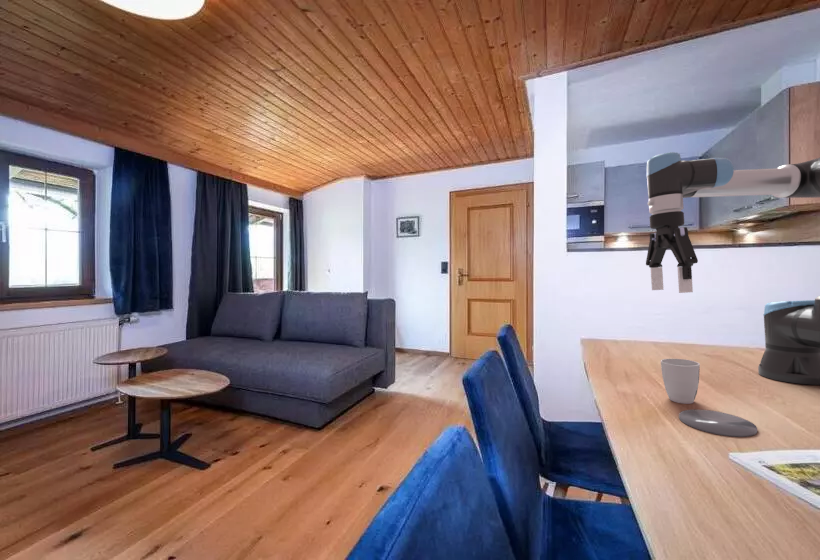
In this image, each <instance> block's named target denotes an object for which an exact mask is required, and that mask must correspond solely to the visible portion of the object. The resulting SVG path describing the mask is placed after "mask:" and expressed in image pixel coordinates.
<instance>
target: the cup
mask: <svg viewBox="0 0 820 560" xmlns="http://www.w3.org/2000/svg"><path fill="white" fill-rule="evenodd" d="M700 366H701V363H700V362H698V361H694V360H690V359H686V358H685V359H684V358H663V359H660V367H661V377H662V380H663V385H664V390H665V391H666V394H667V396H668V399H669V400H670V401H672V402H675V403H677V404H685V405H686V404H687V405H688V404H689V405H690V404H693V403H694V402H695V400H696V397H697V394H698V388H699V383H700Z"/></svg>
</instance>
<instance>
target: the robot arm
mask: <svg viewBox="0 0 820 560" xmlns="http://www.w3.org/2000/svg"><path fill="white" fill-rule="evenodd" d="M681 157H682V156H681V154H680V153H679V152H674V151H672V152H665V153H660V154H656V155H655V156H652V157H650V158H649V159H648V160H647V162H646V179H647V180H646V182H647V196H648V201H647V203H646V204H647V206H648V209H649V210H648V213H649V214H651V215H649V228H650V229H651V230H656V231H655V232H653V233H650V234H649V244H648V250H647V255H646V259H645V265H646V266H648V267H649V268H650V280H651V291H660V290H661V291H662V290H664V276H663V264H662V262H663V259H664V257H665V254H666V252H667V250H668V249H670V251H671V252H672V254H673V256H674V258H675V259H676V261H677V266H676V267H677V280H678V281H677V282H678V293H680V294H681V293H682V294H683V293H684V294H686V293H693V291H694V289H693V273H692V271H693V270H692V267H693V266H694V264H697V263H698V257H697V255H696V252H695V249H694V247H693V243H692V241H691V237H690V236H689V231H688V227H687V226H685V227H684V225H685V215H684V214H685V212H683V211H682V210H684V199H685V198H686V199H687V198H709V197H711V198H712V197H713V198H714V197H743V196H744V197H745V196H771V195H772V196H773V197H774V198H779V199H785V198H786V199H789V198H793V199H794V198H797V199H798V198H799V199H800V198H802V199H803V198H806V199H807V198H820V157H818V158H817V157H816V158H814V159H811V160H806V161H803V162H798V163H790V164H783V165H780V166H778V167H777V168H776V167H775V168H759V169H758V168H755V169H752V168H751V169H734V164H733V162H732V160H731V159H729V158H727V157H711V158H704V159H703V158H702V159H701V158H700V159H692V160H682V158H681ZM682 226H683V227H682ZM763 312H764V313H763V324H764V342H765V345H764V346H765V349H764V352H763V355H762V357H761V360H760V362H759V364H758V374H759V375H760V376H762V377H764V378H767V379H770V380H775V381H778V382H779V381H780V382H785V383H792V384H801V385H811V386H812V385H813V386H820V295H819V296H817V297H815V298H814V299H809V300H808V299H807V300H805V299H804V300H788V301H787V300H783V301H770V302H767V303H766V304H765V305H764V311H763Z"/></svg>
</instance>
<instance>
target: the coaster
mask: <svg viewBox="0 0 820 560" xmlns="http://www.w3.org/2000/svg"><path fill="white" fill-rule="evenodd" d="M678 418H679V421H680V422H681V423H683V424H685V425H686V426H688V427H690V428H693V429H696V430H699V431H700V432H701V431H702V432H704V433H705V432H706V433H709V434H714V435H720V436H725V437H735V438H746V437H751V436H754V435H755V436H756V434H758V427H757V425H756V424H755V423H754V422H752V421H750V420H748V419H745V418H743V417H740V416H737V415H735V414H730V413H725V412H723V411H716V410H711V409H710V410H709V409H686V410H681V411H680V412H679V413H678Z"/></svg>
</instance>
